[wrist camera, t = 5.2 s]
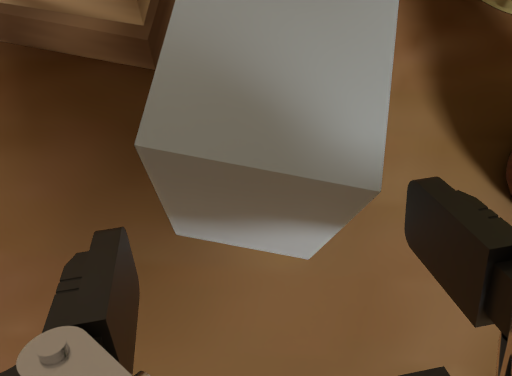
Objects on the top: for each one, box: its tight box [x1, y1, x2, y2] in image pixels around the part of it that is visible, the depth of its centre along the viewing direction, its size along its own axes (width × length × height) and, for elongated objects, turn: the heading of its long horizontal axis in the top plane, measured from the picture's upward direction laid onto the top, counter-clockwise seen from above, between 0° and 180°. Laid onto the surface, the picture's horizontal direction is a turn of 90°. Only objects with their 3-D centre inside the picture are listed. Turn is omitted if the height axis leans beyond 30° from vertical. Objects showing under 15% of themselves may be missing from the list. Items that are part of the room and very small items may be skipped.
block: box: [134, 0, 399, 259], centre depth 17 cm, size 6×6×10 cm
